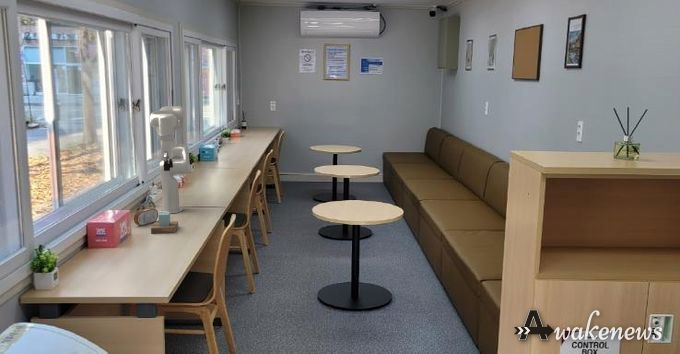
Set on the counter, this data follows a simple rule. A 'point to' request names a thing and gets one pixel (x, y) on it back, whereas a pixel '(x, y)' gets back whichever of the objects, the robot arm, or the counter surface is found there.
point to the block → (164, 219)
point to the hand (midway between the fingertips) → (168, 169)
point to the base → (164, 228)
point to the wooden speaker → (146, 216)
